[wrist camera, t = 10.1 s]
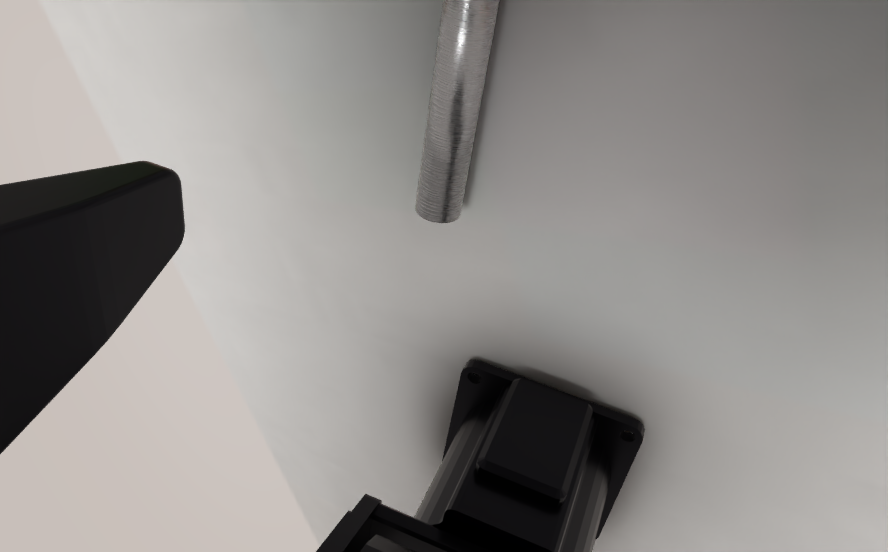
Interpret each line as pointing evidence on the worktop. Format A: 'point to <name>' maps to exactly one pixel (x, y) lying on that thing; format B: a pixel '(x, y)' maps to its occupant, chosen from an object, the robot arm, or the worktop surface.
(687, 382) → the worktop surface
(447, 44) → the rod
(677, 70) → the worktop surface
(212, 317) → the worktop surface
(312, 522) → the worktop surface
